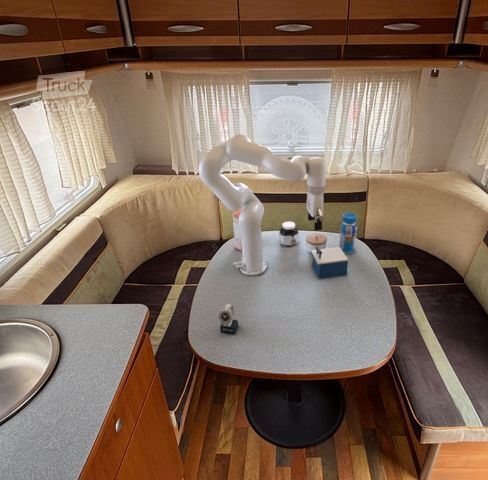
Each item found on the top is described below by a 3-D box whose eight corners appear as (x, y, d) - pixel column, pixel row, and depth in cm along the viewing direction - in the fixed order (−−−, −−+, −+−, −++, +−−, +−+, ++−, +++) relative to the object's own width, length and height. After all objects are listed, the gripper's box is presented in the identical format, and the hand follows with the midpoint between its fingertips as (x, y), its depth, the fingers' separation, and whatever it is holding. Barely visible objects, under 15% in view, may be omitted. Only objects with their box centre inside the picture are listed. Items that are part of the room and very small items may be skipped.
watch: (219, 335, 133) (215, 313, 128) (226, 321, 140) (223, 299, 135) (233, 338, 132) (230, 315, 127) (240, 323, 139) (238, 301, 134)
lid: (318, 264, 160) (318, 256, 158) (310, 251, 170) (311, 243, 168) (348, 260, 163) (349, 252, 161) (339, 248, 173) (339, 239, 171)
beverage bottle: (335, 250, 187) (337, 215, 177) (345, 244, 192) (348, 210, 182) (347, 256, 181) (351, 221, 171) (358, 250, 186) (362, 215, 176)
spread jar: (282, 248, 188) (281, 229, 182) (275, 238, 198) (275, 219, 192) (303, 244, 192) (303, 225, 186) (296, 235, 201) (296, 216, 195)
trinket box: (326, 256, 181) (327, 240, 176) (305, 256, 181) (306, 240, 177) (325, 246, 190) (326, 230, 186) (305, 245, 190) (305, 230, 186)
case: (319, 278, 164) (319, 264, 161) (311, 265, 174) (312, 251, 170) (346, 274, 167) (348, 260, 163) (338, 261, 177) (339, 248, 173)
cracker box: (242, 251, 186) (239, 215, 175) (234, 247, 189) (231, 212, 179) (261, 241, 194) (260, 206, 184) (254, 238, 198) (252, 203, 188)
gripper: (301, 181, 155) (301, 217, 163) (313, 196, 140) (312, 235, 149) (318, 180, 156) (316, 215, 165) (331, 195, 142) (329, 233, 150)
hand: (314, 224), depth 157 cm, fingers open, 9 cm apart
